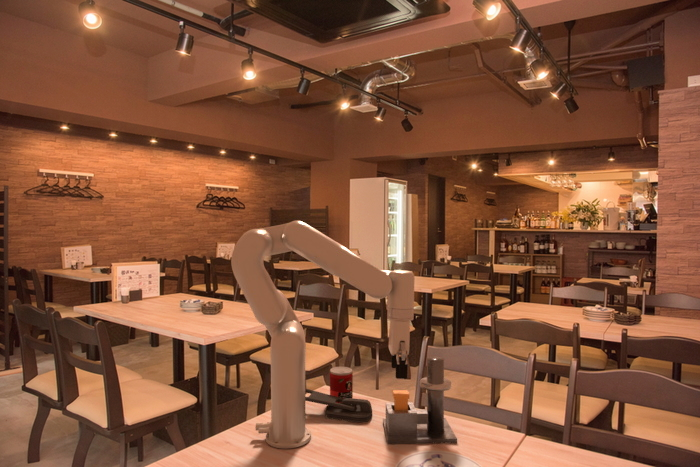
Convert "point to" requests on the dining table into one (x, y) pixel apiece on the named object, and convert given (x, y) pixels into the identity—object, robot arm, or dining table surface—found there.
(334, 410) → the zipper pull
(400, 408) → the orange tapered block
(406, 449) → the dining table surface
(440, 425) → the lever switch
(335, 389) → the canned food
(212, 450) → the dining table surface
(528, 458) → the dining table surface
